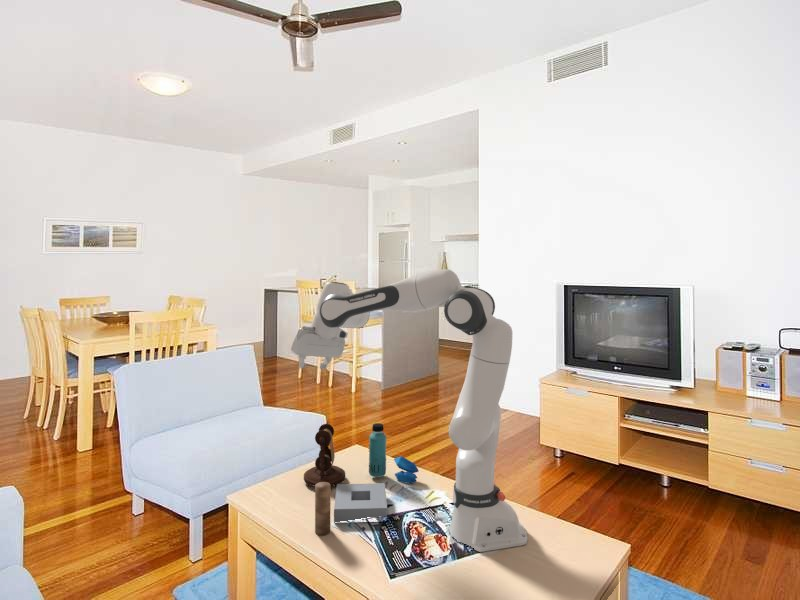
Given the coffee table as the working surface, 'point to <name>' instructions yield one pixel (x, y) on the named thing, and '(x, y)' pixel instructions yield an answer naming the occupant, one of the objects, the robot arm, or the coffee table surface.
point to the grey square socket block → (359, 501)
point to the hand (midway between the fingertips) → (312, 368)
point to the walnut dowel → (322, 508)
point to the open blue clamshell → (407, 466)
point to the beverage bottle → (377, 451)
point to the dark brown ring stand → (324, 460)
